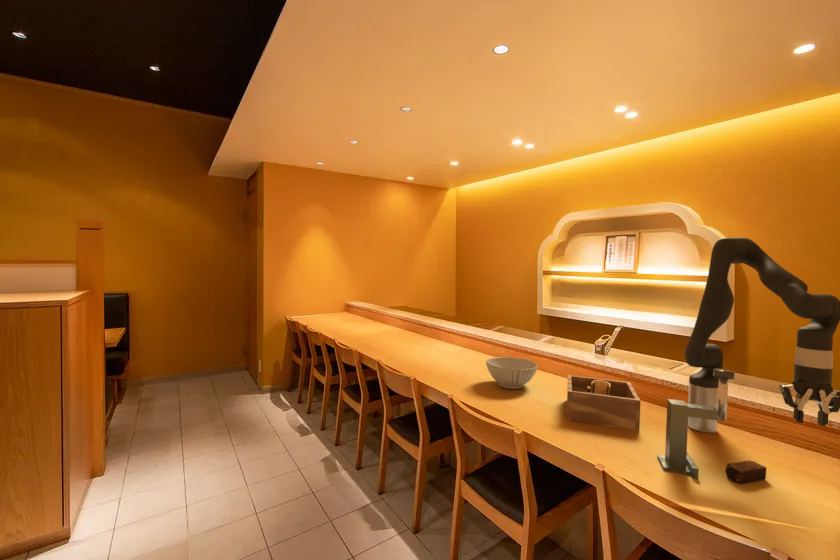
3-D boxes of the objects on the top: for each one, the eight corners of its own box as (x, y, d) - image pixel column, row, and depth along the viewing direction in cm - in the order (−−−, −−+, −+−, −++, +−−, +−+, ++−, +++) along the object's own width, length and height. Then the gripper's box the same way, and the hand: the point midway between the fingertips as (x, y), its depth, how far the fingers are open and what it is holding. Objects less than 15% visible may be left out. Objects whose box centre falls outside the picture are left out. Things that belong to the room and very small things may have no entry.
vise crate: (567, 400, 178) (567, 375, 178) (628, 408, 168) (629, 382, 168) (567, 420, 154) (568, 391, 153) (639, 431, 144) (640, 400, 144)
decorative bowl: (529, 397, 181) (529, 372, 181) (477, 387, 195) (478, 364, 195) (542, 383, 204) (543, 361, 203) (495, 375, 218) (496, 354, 217)
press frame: (656, 454, 126) (658, 394, 125) (706, 463, 121) (709, 400, 120) (665, 472, 115) (667, 406, 114) (720, 483, 110) (723, 414, 109)
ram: (708, 415, 117) (711, 367, 117) (728, 417, 116) (730, 369, 115) (714, 421, 113) (717, 371, 112) (735, 423, 111) (737, 373, 110)
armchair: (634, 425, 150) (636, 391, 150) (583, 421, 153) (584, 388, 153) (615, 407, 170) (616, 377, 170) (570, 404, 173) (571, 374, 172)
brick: (766, 480, 111) (749, 471, 116) (767, 467, 111) (750, 459, 116) (739, 484, 109) (723, 475, 113) (740, 471, 108) (723, 463, 113)
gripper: (837, 363, 107) (834, 423, 107) (774, 358, 112) (771, 415, 113) (856, 370, 100) (853, 433, 100) (788, 364, 105) (785, 424, 106)
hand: (810, 423), depth 107 cm, fingers open, 4 cm apart
